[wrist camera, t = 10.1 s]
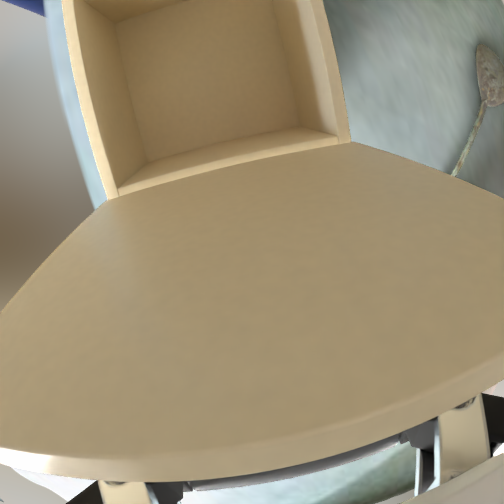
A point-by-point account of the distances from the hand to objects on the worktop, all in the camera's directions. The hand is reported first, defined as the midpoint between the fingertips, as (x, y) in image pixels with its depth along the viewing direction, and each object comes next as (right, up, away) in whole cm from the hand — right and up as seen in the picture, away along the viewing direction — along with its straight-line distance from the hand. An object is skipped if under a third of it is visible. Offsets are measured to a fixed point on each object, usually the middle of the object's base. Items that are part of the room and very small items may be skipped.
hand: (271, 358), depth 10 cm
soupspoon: (+23, +18, +16) cm, 33 cm away
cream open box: (-4, +19, +13) cm, 23 cm away
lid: (-1, +5, -1) cm, 5 cm away
